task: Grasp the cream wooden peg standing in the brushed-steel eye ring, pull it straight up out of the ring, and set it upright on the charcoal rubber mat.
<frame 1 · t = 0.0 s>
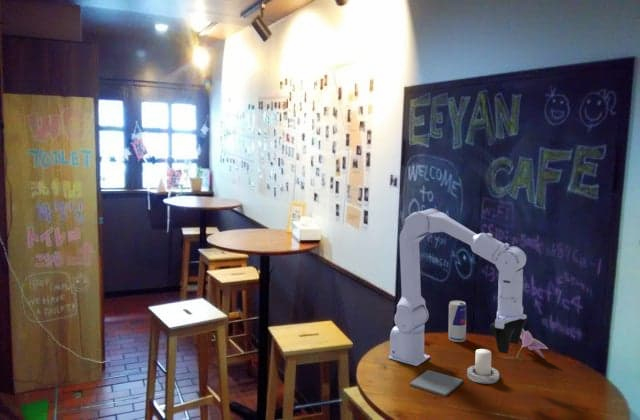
hand: (508, 347, 133), 10 cm above the table, tool pointing down, fingers open, 7 cm apart
peg: (483, 364, 139), in the eye ring
mat: (436, 383, 136), on the table
energy drink: (457, 339, 166), on the table
lily: (527, 356, 152), on the table
eye ring: (482, 376, 139), on the table
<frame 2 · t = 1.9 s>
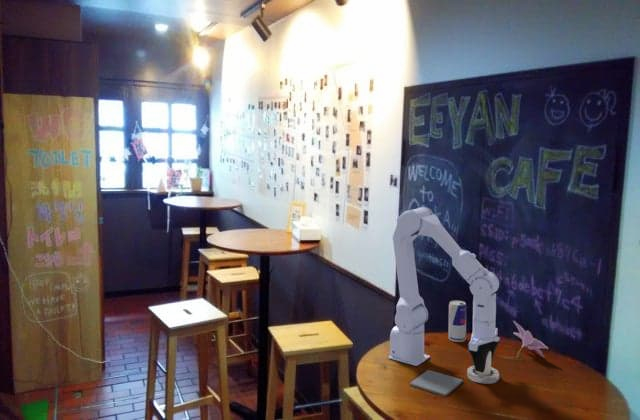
hand: (483, 368, 139), 2 cm above the table, tool pointing down, fingers closed on peg, 4 cm apart
peg: (483, 364, 139), in the eye ring, touching gripper
everything else where it was.
when the fingers open (5 cm above the table, at t = 5.8 s): peg drops 1 cm, resting on mat.
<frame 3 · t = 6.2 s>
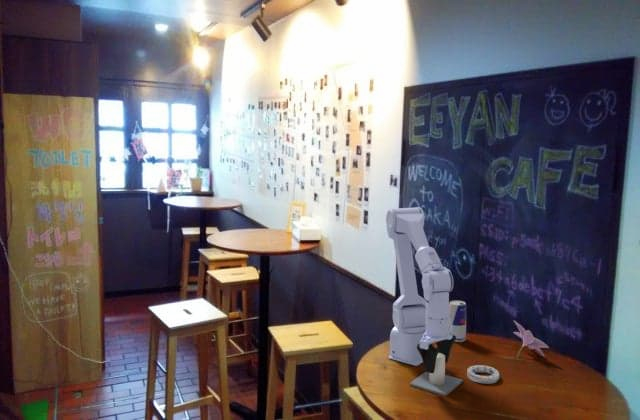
hand: (436, 367, 136), 5 cm above the table, tool pointing down, fingers open, 7 cm apart
peg: (437, 368, 136), on the mat, point 4 cm above the table
everything else where it was.
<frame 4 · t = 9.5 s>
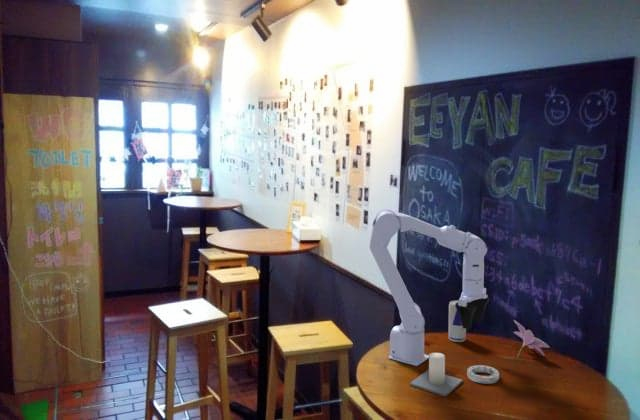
hand: (472, 324, 149), 10 cm above the table, tool pointing down, fingers open, 7 cm apart
at the end: peg inside the target area on the mat (0.1 cm from its centre), point 4.1 cm above the mat's base; peg tilted 1°; the gripper is holding nothing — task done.
